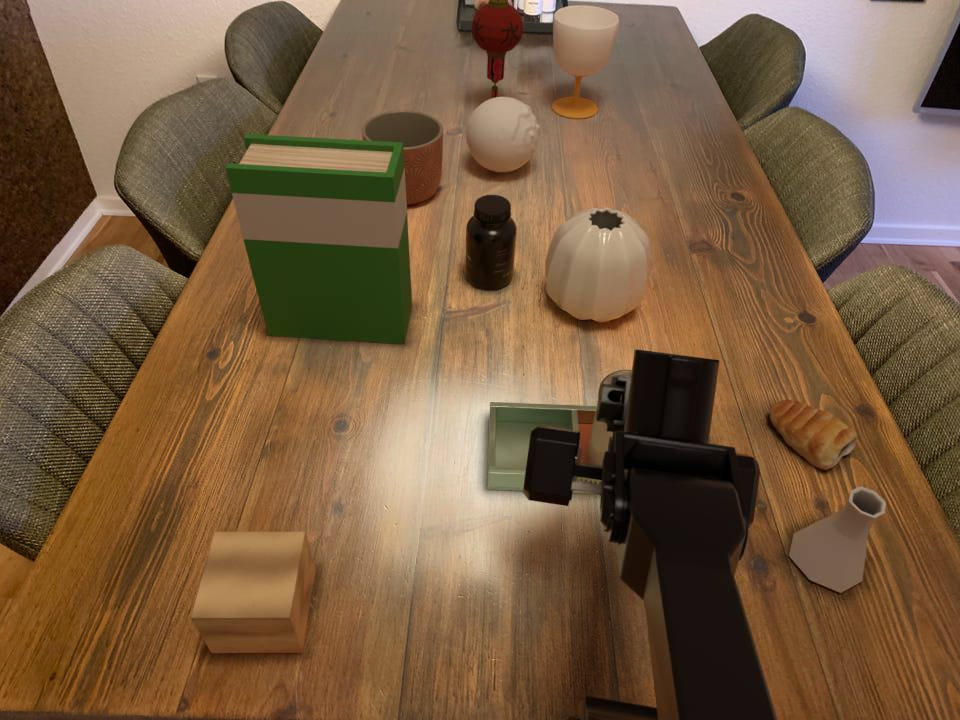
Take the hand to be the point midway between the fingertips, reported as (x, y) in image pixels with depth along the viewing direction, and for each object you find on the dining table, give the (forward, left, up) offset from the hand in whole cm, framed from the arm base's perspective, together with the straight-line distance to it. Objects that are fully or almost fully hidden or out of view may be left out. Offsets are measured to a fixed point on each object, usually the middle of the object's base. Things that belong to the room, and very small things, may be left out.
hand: (626, 463), depth 67 cm
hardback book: (+17, +40, -9) cm, 44 cm away
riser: (-21, +28, -9) cm, 36 cm away
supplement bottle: (+33, +25, -9) cm, 42 cm away
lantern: (+82, +41, -9) cm, 92 cm away
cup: (+88, +27, -9) cm, 93 cm away
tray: (+6, +6, -9) cm, 12 cm away
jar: (+6, +1, -8) cm, 10 cm away
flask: (+3, -21, -9) cm, 23 cm away
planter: (+49, +45, -9) cm, 67 cm away
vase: (+33, +10, -9) cm, 35 cm away
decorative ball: (+62, +33, -9) cm, 70 cm away
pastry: (+18, -19, -9) cm, 27 cm away
